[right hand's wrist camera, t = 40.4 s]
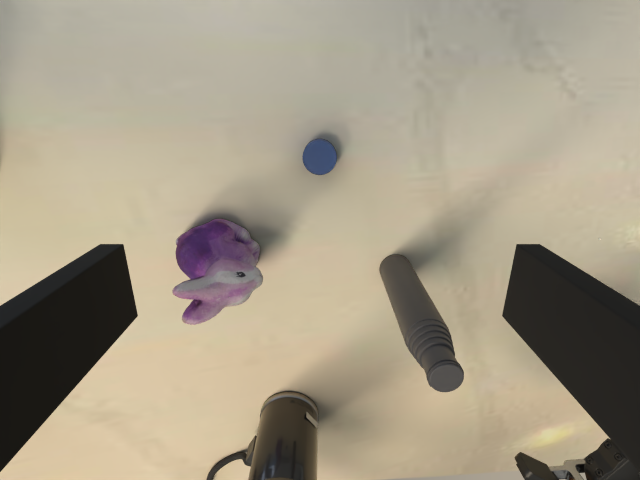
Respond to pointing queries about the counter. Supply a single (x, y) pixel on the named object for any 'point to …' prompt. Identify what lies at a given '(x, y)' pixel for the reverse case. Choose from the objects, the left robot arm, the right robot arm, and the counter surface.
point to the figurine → (216, 268)
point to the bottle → (421, 324)
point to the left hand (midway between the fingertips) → (553, 433)
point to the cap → (319, 157)
